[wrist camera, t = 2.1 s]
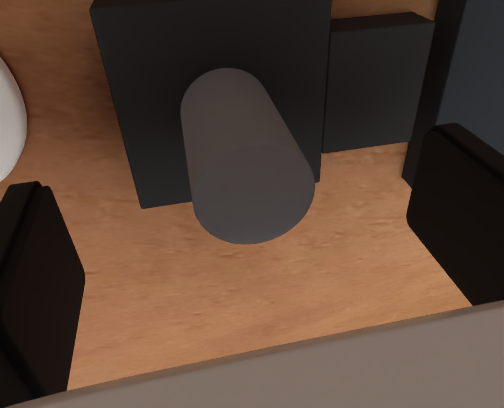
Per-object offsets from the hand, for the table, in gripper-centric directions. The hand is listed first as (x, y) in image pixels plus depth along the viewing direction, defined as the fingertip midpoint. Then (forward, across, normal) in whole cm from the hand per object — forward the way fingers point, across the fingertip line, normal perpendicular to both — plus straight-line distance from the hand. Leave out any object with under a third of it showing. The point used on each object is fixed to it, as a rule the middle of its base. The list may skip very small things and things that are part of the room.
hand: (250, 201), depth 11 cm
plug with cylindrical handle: (+6, -2, -1) cm, 6 cm away
